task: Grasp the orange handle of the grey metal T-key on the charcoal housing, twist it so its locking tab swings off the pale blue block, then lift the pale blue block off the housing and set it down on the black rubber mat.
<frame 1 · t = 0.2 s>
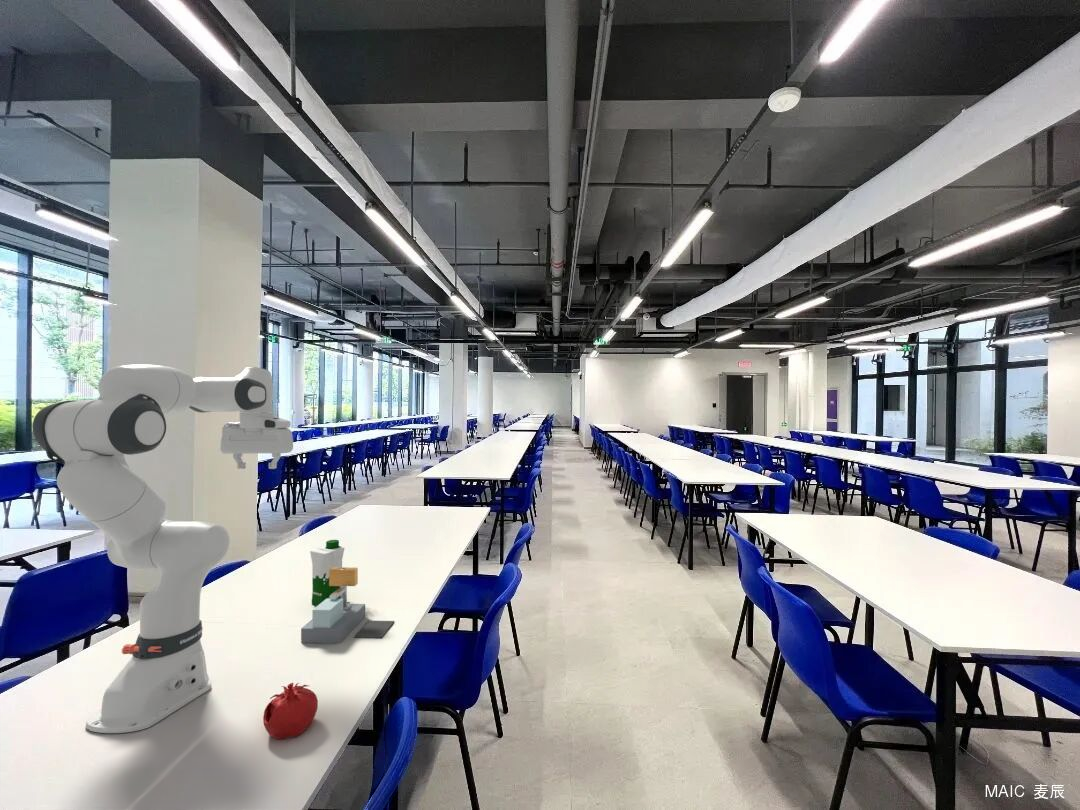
hand: (257, 468, 142), 47 cm above the table, fingers open, 8 cm apart
pomegranate: (291, 728, 98), on the table
key: (338, 591, 144), point 10 cm above the table, hinge at 0.0°
housing: (335, 629, 141), on the table
mat: (374, 629, 140), on the table
milk carton: (327, 602, 161), on the table
pale blue block: (328, 621, 137), point 4 cm above the table, touching housing
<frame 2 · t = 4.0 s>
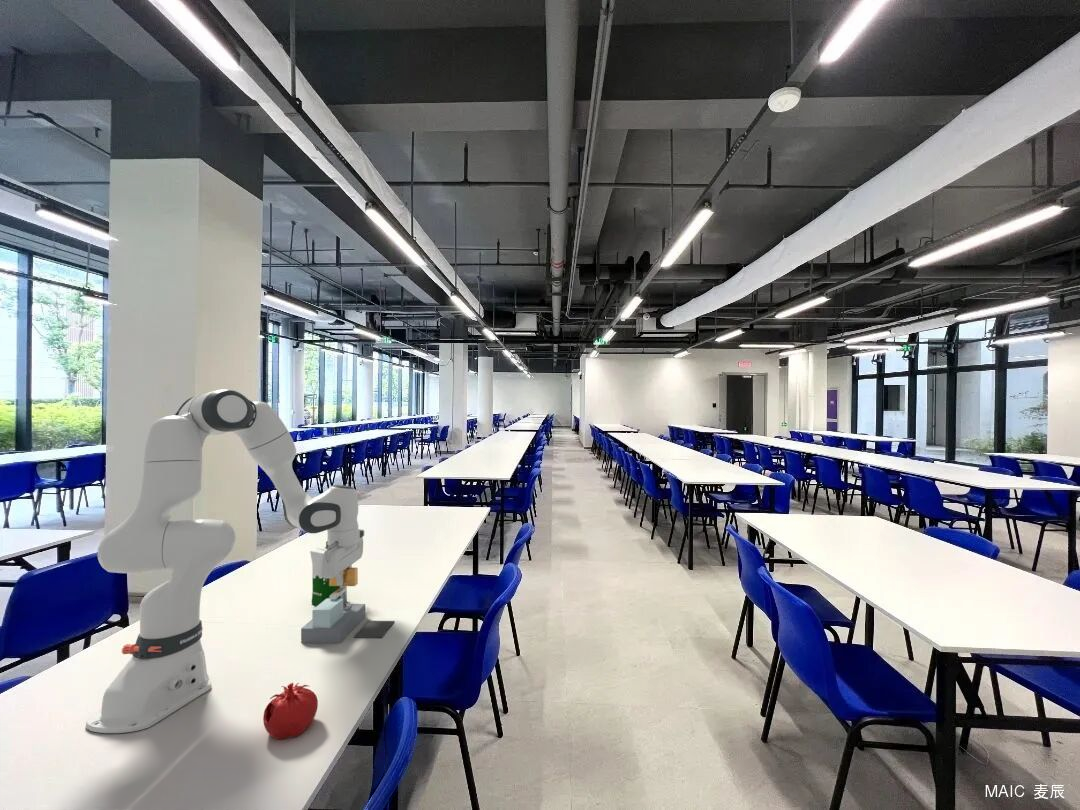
hand: (343, 582, 147), 12 cm above the table, fingers closed on key, 2 cm apart
key: (338, 591, 144), point 10 cm above the table, hinge at 0.0°, touching gripper
everything else where it was.
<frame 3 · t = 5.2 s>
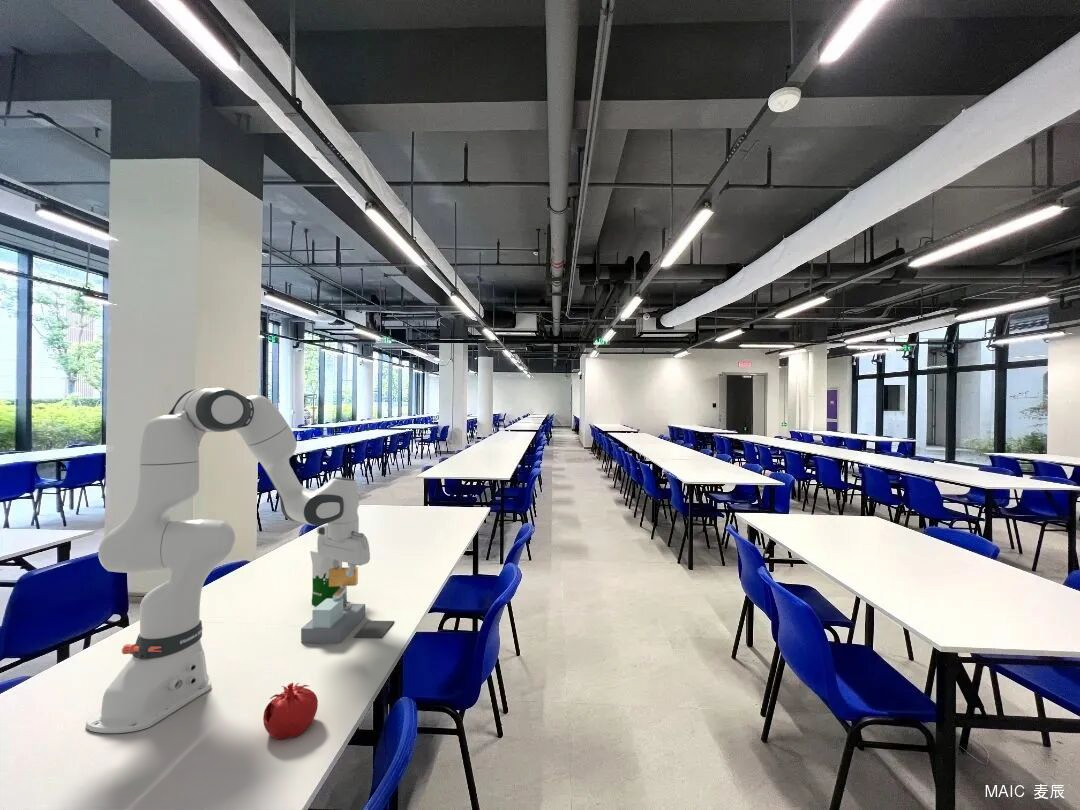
hand: (343, 574, 147), 14 cm above the table, fingers closed on key, 4 cm apart
key: (340, 591, 144), point 10 cm above the table, hinge at 8.1°, touching gripper
everything else where it was.
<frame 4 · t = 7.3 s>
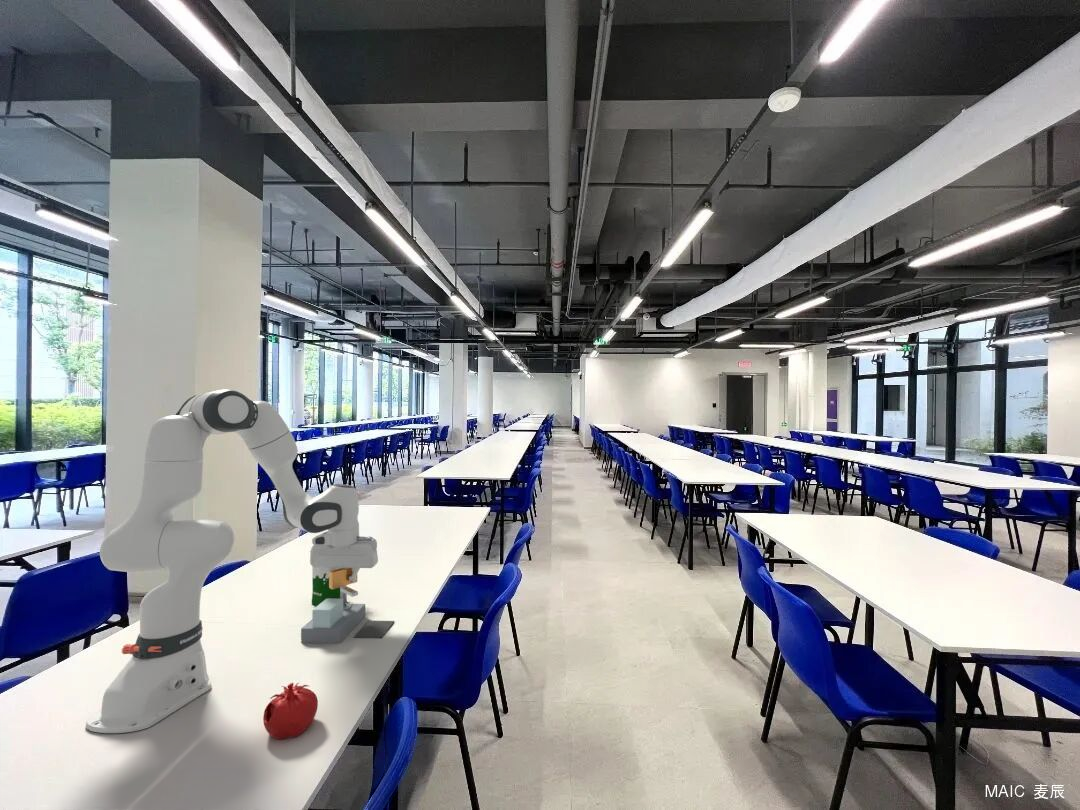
hand: (344, 581, 147), 12 cm above the table, fingers closed on key, 4 cm apart
key: (348, 589, 145), point 10 cm above the table, hinge at 52.6°, touching gripper
everything else where it was.
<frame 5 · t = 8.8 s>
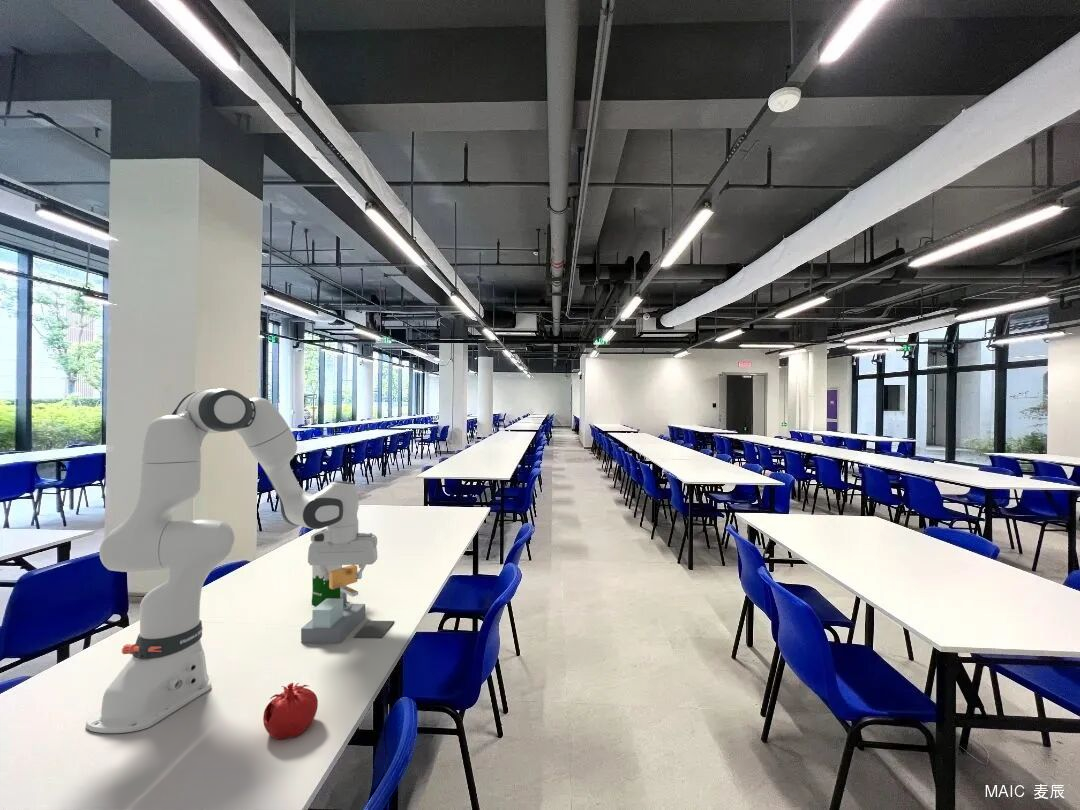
hand: (343, 578, 146), 13 cm above the table, fingers open, 8 cm apart
key: (348, 589, 145), point 10 cm above the table, hinge at 53.3°
everything else where it was.
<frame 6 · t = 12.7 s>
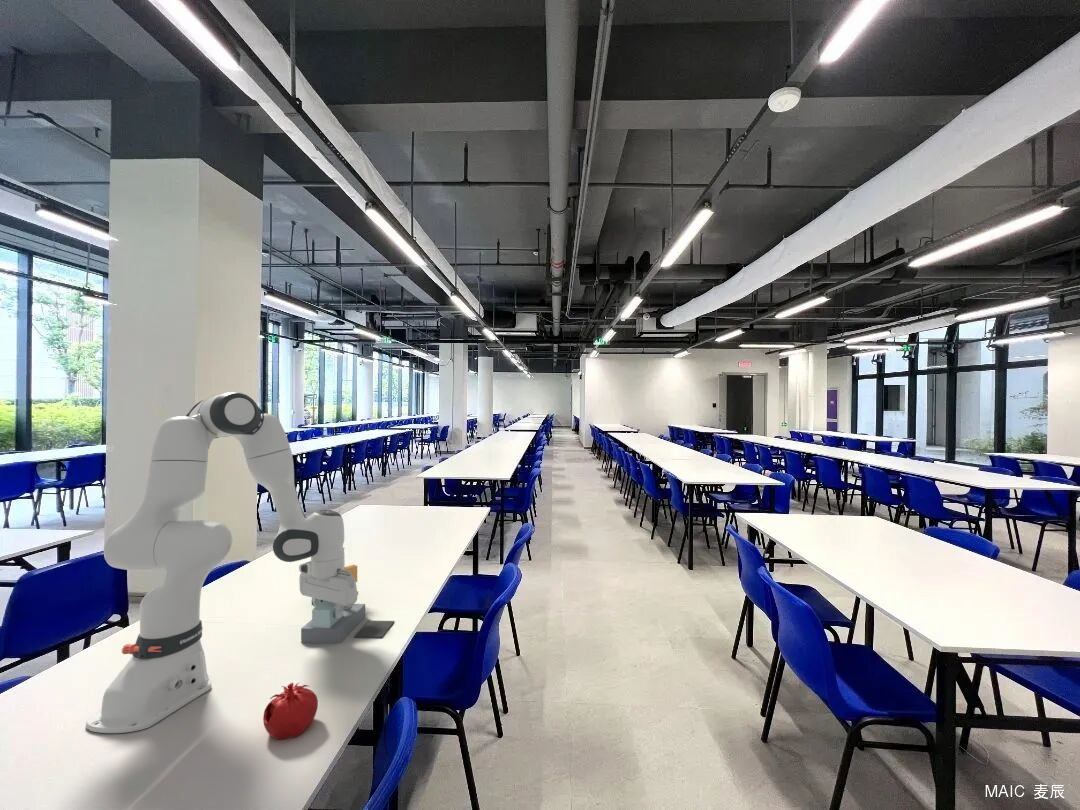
hand: (328, 615, 137), 6 cm above the table, fingers closed on pale blue block, 6 cm apart
pale blue block: (328, 621, 137), point 4 cm above the table, touching gripper, housing
everything else where it was.
when the fingers open (4 cm above the table, at t = 19.6 s): pale blue block drops 1 cm, resting on mat.
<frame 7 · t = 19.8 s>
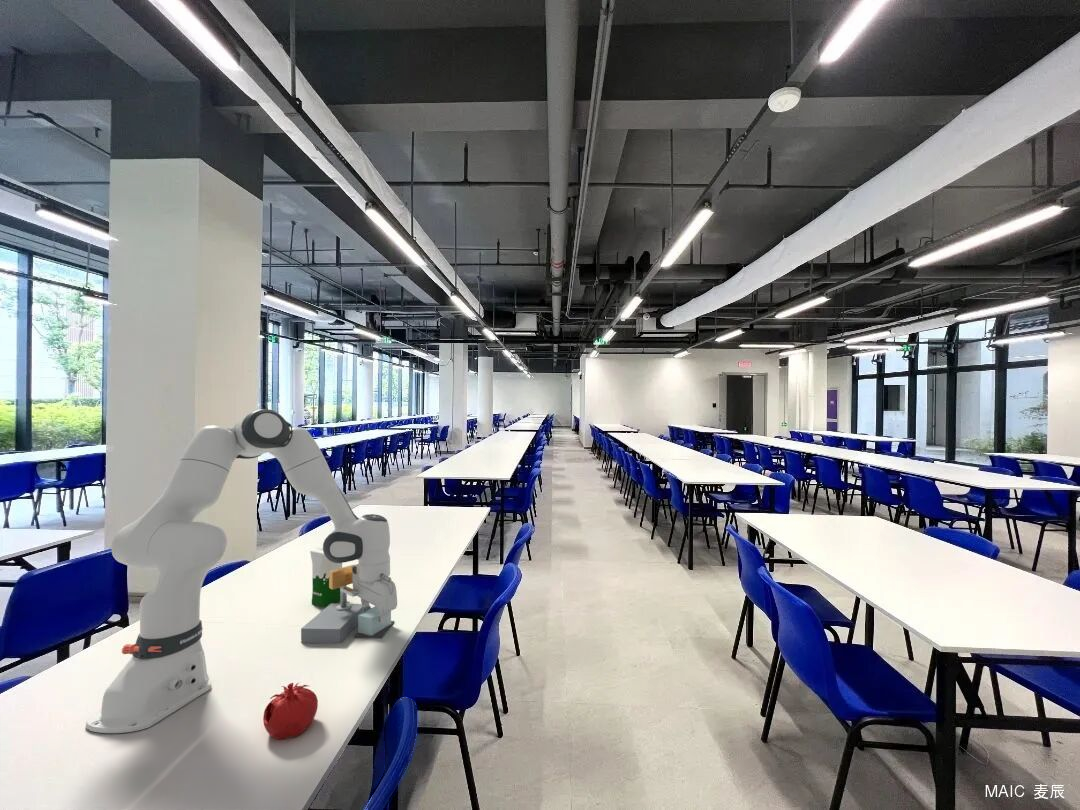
hand: (374, 617, 140), 4 cm above the table, fingers open, 8 cm apart
pale blue block: (374, 628, 141), resting on mat
everything else where it was.
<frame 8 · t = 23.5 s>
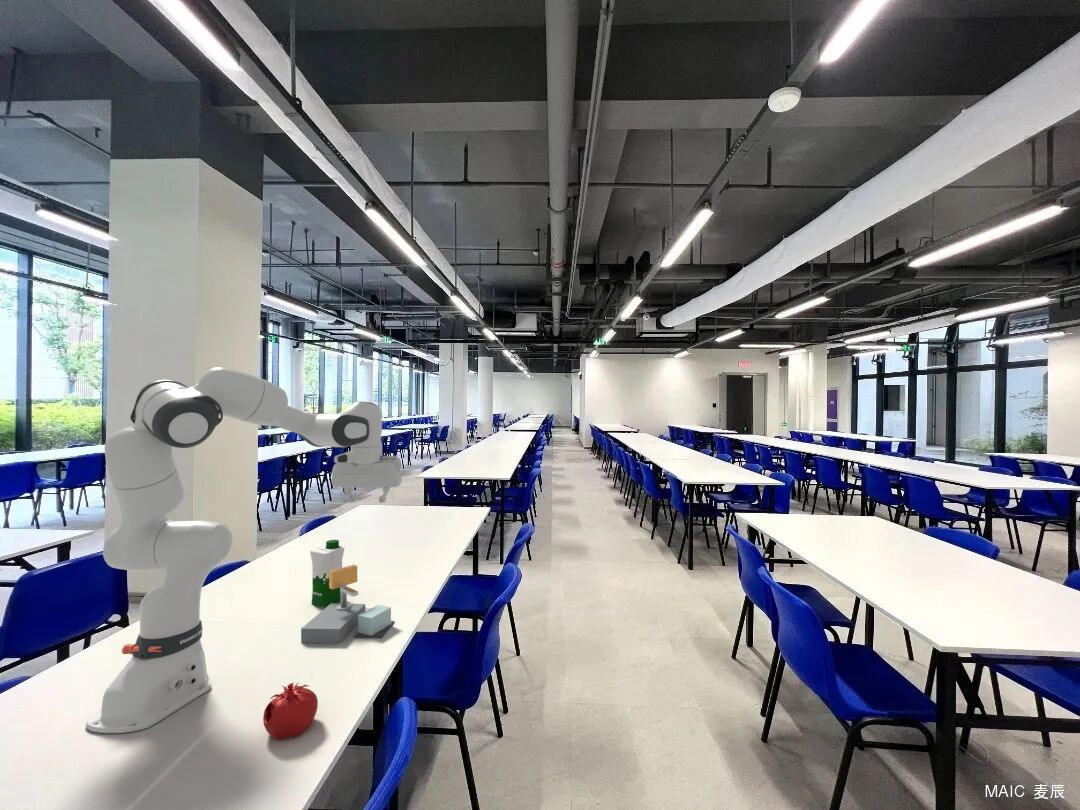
hand: (367, 502, 143), 37 cm above the table, fingers open, 8 cm apart
nothing on the table moved.
at the end: key at +53° (first picture: +0°); pale blue block inside the target area on the mat (0.1 cm from its centre), point 0.4 cm above the mat's base; pale blue block tilted 0° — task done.
